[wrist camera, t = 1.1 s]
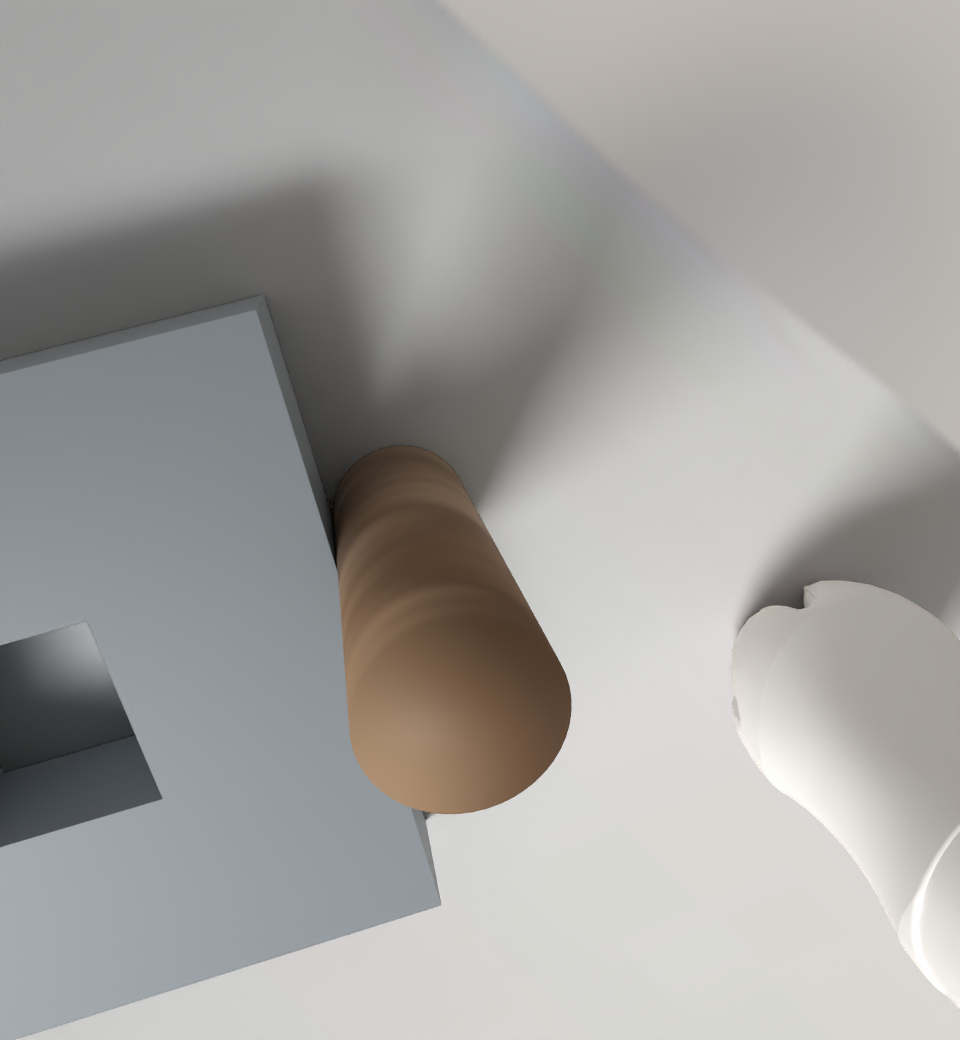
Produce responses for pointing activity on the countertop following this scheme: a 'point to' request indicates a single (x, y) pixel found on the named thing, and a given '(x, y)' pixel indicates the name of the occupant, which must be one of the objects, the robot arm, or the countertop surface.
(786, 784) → the water bottle
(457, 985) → the countertop surface
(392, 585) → the peg
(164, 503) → the socket board
